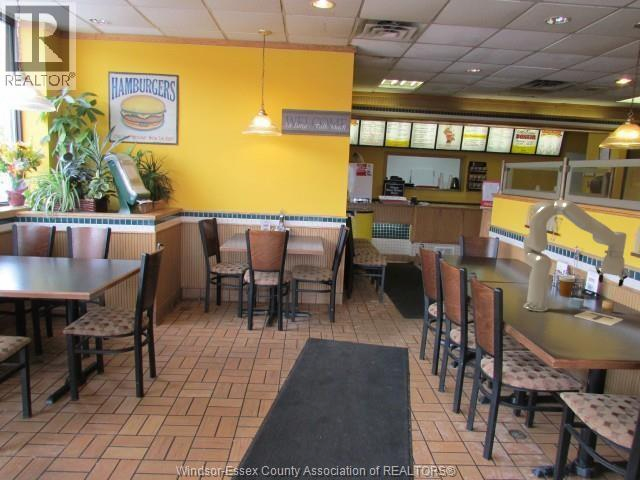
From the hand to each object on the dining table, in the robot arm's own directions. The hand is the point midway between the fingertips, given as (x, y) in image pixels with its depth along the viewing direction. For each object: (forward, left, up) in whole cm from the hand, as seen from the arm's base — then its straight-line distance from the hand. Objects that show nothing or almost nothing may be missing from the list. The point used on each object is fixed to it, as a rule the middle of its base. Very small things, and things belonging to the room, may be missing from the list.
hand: (610, 284), depth 251 cm
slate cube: (-6, +14, -16) cm, 22 cm away
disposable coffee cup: (+16, +30, -16) cm, 38 cm away
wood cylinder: (0, 0, -16) cm, 16 cm away
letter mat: (-18, -2, -16) cm, 24 cm away
